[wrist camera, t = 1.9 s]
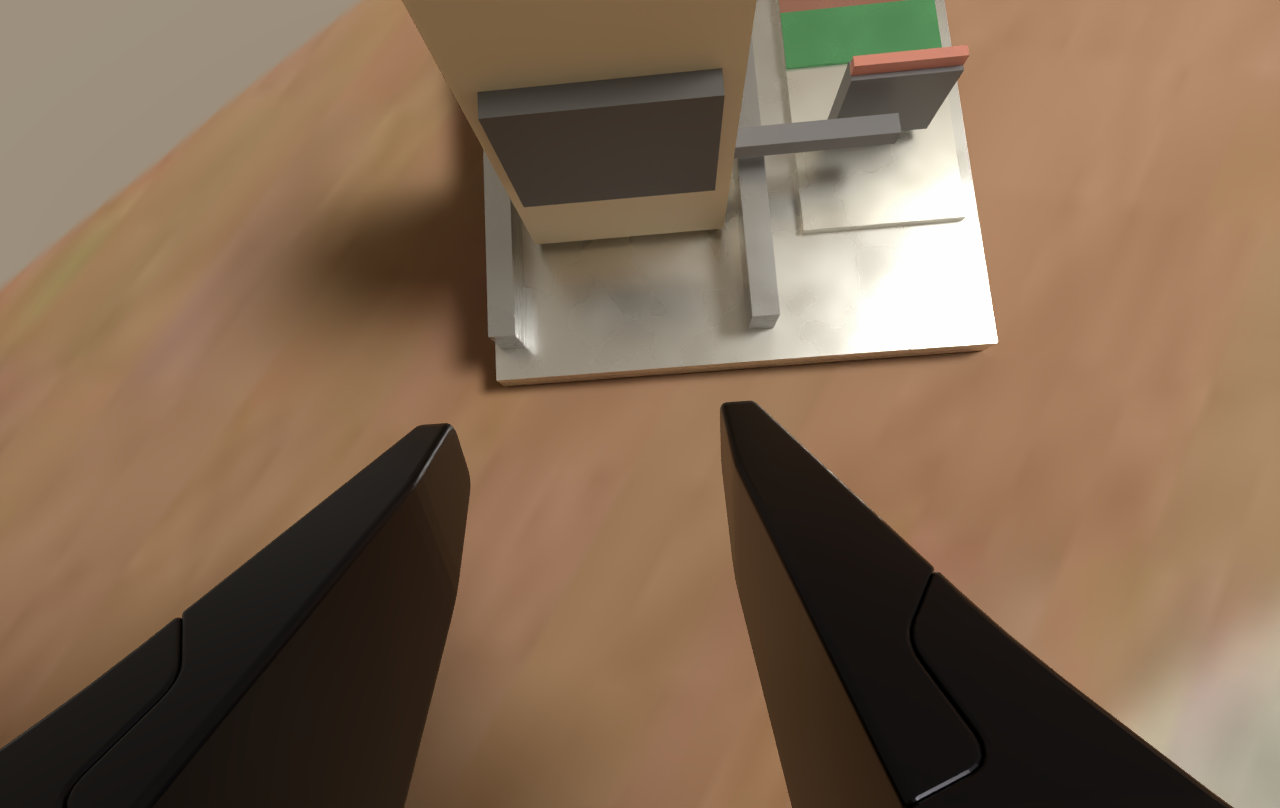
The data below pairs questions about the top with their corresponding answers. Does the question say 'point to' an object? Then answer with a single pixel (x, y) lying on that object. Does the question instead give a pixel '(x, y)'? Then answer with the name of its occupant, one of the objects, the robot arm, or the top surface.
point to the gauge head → (615, 108)
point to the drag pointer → (900, 84)
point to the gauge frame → (768, 236)
